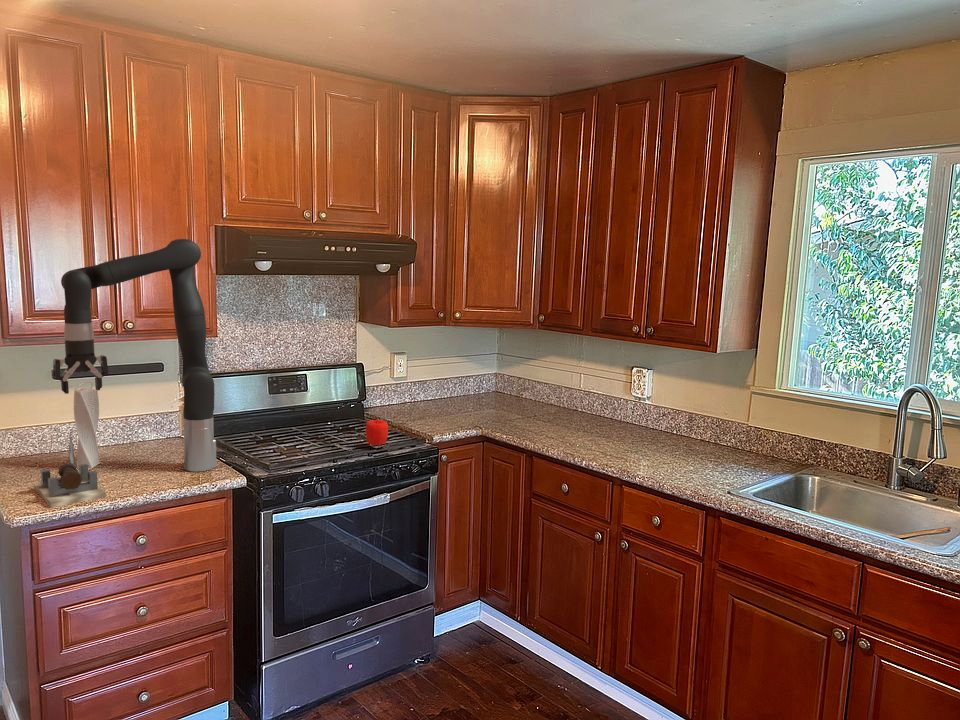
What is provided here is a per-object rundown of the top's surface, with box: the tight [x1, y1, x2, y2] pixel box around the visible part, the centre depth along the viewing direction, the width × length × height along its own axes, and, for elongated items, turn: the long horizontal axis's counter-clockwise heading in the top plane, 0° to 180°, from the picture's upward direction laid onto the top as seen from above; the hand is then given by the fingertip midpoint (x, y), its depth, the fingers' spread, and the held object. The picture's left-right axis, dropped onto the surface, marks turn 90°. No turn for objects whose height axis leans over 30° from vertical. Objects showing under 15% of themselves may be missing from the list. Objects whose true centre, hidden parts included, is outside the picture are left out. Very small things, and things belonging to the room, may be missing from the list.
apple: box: [364, 419, 389, 445], centre depth 268 cm, size 9×9×11 cm
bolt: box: [57, 463, 83, 489], centre depth 204 cm, size 6×5×15 cm
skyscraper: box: [67, 381, 101, 471], centre depth 229 cm, size 8×8×28 cm
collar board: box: [33, 482, 107, 508], centre depth 205 cm, size 14×20×2 cm
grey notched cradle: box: [40, 464, 99, 497], centre depth 205 cm, size 12×11×5 cm
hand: (82, 391), depth 211 cm, fingers open, 8 cm apart
